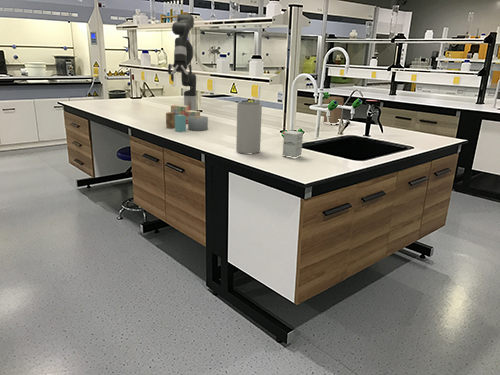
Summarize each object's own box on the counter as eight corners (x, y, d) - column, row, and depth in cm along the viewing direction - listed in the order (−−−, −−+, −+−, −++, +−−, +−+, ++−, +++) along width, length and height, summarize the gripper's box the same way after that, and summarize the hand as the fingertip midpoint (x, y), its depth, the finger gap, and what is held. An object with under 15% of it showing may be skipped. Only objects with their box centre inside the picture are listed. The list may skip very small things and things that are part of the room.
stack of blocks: (200, 124, 283) (200, 106, 279) (195, 125, 278) (195, 107, 274) (176, 121, 292) (175, 104, 288) (171, 122, 287) (170, 105, 283)
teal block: (175, 130, 257) (174, 115, 254) (181, 129, 260) (181, 114, 257) (179, 131, 253) (178, 116, 250) (186, 131, 257) (185, 115, 253)
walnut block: (166, 128, 264) (165, 113, 261) (168, 126, 269) (168, 112, 266) (173, 128, 264) (173, 113, 261) (176, 127, 268) (175, 112, 265)
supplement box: (281, 156, 200) (283, 132, 195) (289, 154, 205) (290, 130, 201) (295, 159, 196) (296, 134, 192) (301, 156, 202) (303, 131, 198)
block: (333, 125, 293) (335, 98, 287) (322, 123, 300) (325, 96, 294) (341, 124, 299) (344, 97, 293) (331, 122, 306) (333, 96, 300)
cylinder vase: (235, 148, 214) (236, 101, 205) (258, 149, 214) (260, 102, 206) (236, 154, 202) (237, 104, 194) (261, 154, 203) (263, 105, 195)
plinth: (184, 128, 265) (184, 116, 262) (200, 126, 273) (200, 114, 270) (195, 131, 256) (195, 119, 253) (211, 129, 264) (211, 117, 261)
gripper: (192, 57, 247) (192, 83, 246) (169, 57, 246) (169, 82, 245) (191, 53, 239) (190, 79, 238) (167, 52, 238) (167, 79, 238)
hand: (179, 81), depth 242 cm, fingers open, 8 cm apart
